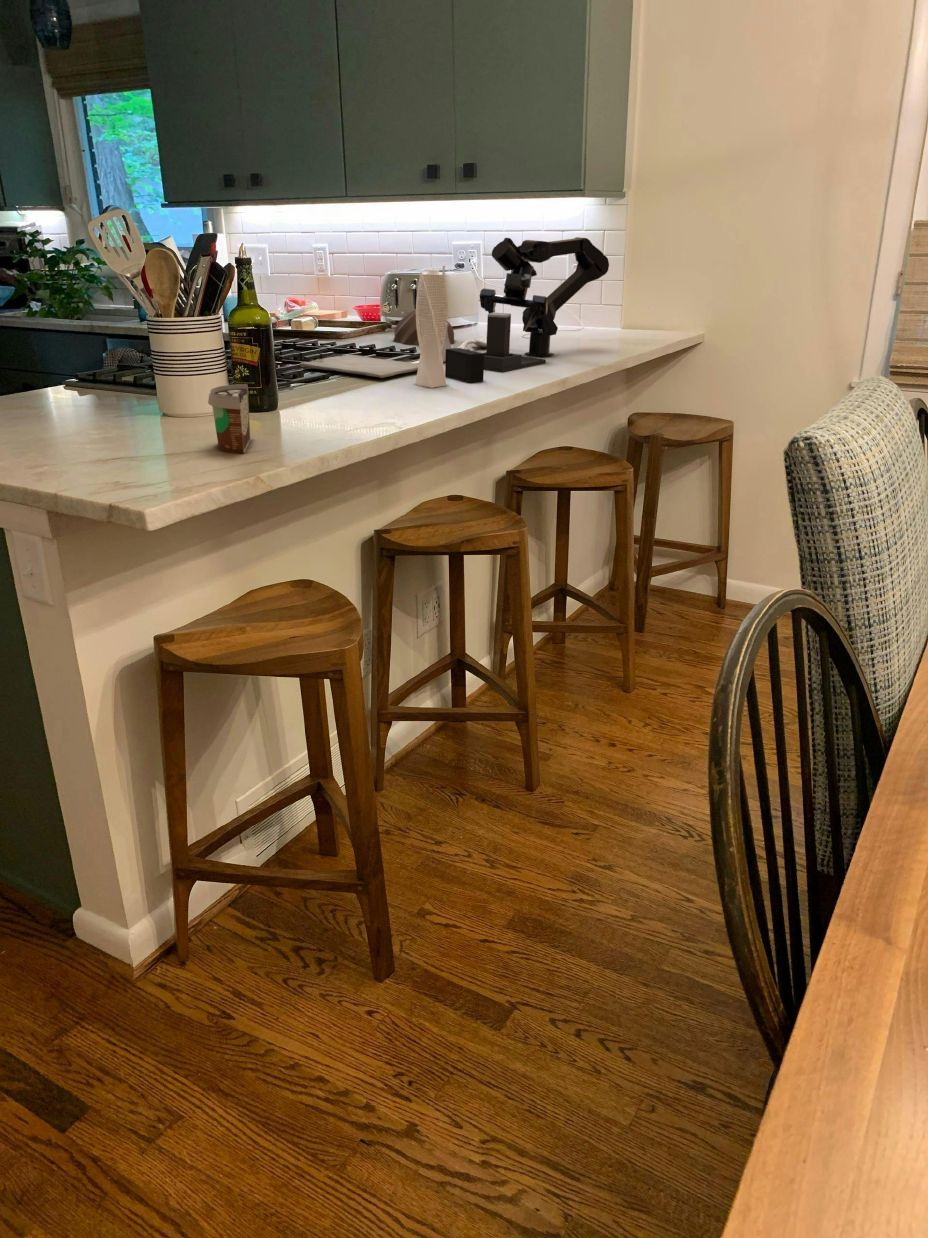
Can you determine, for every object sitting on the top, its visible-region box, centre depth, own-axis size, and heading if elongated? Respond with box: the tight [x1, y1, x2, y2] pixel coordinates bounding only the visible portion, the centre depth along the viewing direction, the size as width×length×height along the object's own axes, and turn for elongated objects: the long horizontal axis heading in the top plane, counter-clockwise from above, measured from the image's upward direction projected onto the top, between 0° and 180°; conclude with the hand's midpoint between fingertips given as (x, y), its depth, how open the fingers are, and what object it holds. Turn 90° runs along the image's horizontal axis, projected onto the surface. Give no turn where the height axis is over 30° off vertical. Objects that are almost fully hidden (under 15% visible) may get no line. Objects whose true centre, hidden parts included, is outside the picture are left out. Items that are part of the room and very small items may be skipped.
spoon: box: [457, 336, 487, 349], centre depth 278 cm, size 9×32×4 cm, turn 153°
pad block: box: [485, 311, 512, 358], centre depth 250 cm, size 5×5×13 cm
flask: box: [441, 323, 452, 363], centre depth 259 cm, size 7×7×10 cm
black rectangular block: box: [444, 347, 485, 384], centre depth 234 cm, size 10×5×7 cm, turn 39°
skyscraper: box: [415, 262, 449, 389], centre depth 221 cm, size 8×8×28 cm
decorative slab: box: [299, 353, 419, 379], centre depth 242 cm, size 27×21×2 cm
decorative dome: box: [393, 309, 455, 346], centre depth 293 cm, size 19×20×10 cm
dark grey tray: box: [483, 351, 547, 373], centre depth 258 cm, size 22×16×4 cm
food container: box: [207, 383, 251, 454], centre depth 164 cm, size 12×6×10 cm, turn 5°
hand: (507, 327), depth 256 cm, fingers open, 9 cm apart
